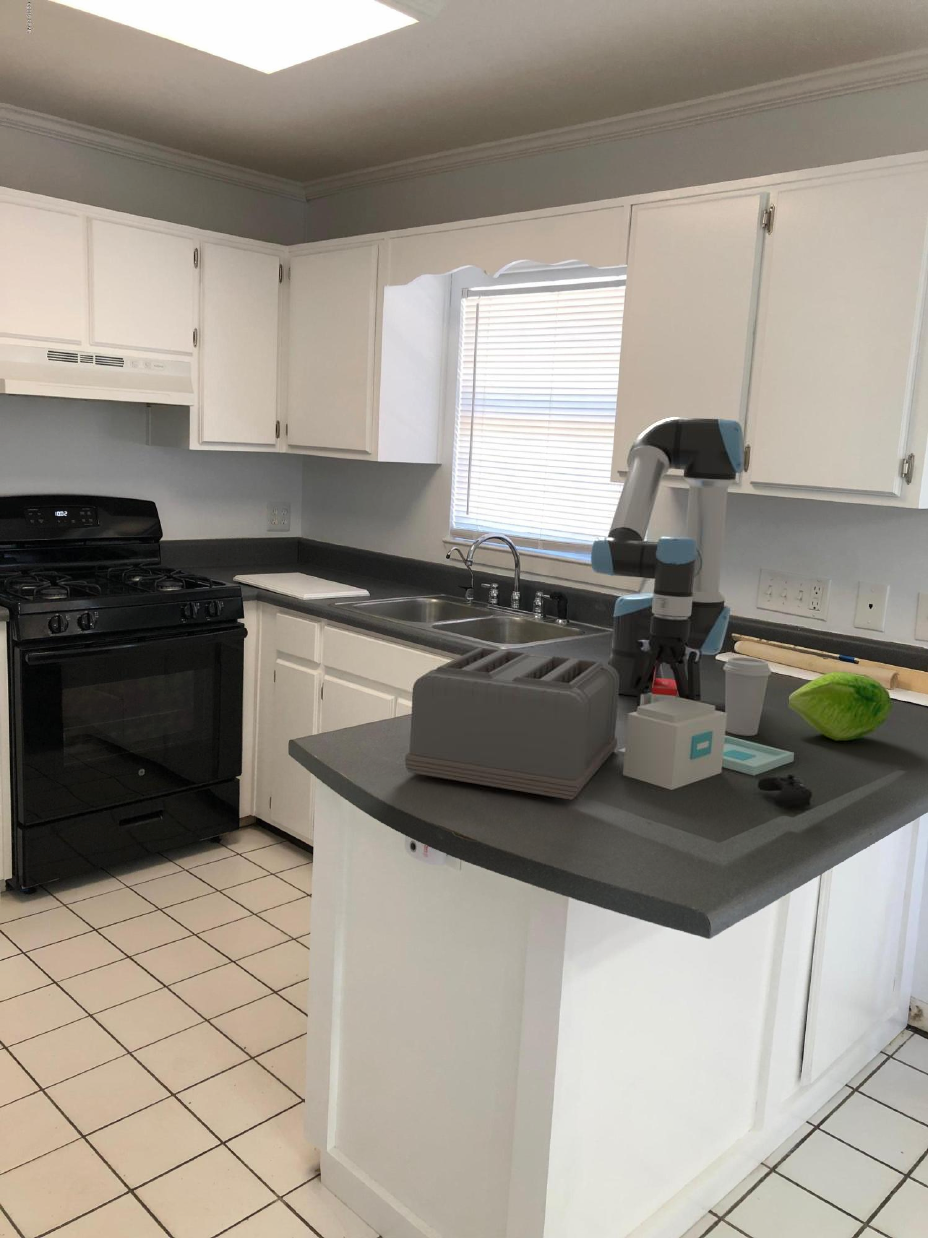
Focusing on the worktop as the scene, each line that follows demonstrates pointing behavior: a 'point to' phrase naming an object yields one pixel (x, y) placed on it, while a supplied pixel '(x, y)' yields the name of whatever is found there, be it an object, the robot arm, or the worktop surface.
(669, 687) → the ink box
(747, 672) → the coffee cup
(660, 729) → the white lidded box
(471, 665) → the toaster
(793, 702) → the lettuce
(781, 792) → the gaming controller
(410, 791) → the worktop surface
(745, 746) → the tray
